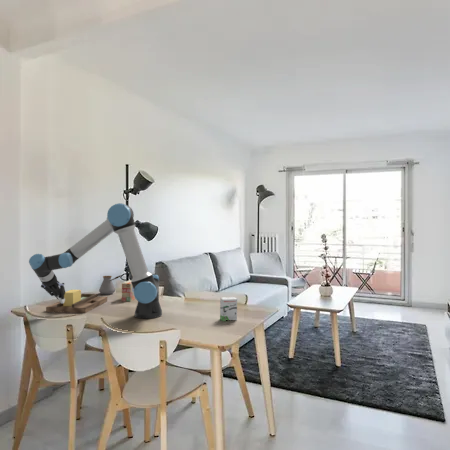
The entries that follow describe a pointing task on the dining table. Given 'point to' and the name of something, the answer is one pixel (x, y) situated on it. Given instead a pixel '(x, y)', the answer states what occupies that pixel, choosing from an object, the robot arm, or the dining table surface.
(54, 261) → the robot arm
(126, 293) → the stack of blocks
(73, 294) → the ochre block
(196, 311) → the dining table surface
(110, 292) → the coffee pot
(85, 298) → the trap board
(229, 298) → the ink box
